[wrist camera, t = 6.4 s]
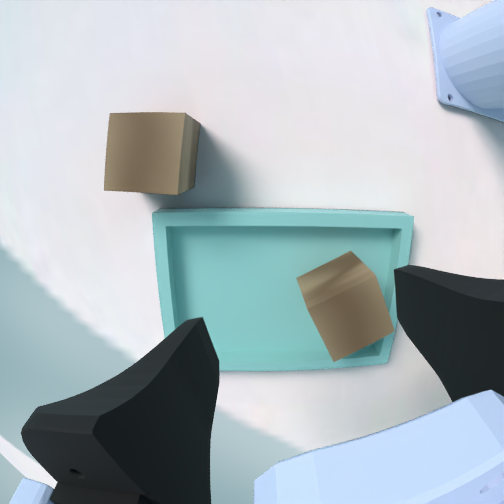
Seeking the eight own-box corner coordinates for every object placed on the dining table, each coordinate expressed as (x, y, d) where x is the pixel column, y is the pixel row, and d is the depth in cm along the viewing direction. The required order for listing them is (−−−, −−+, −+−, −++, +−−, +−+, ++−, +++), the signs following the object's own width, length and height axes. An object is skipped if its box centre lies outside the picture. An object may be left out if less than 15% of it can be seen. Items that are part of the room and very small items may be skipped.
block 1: (200, 123, 18) (185, 112, 14) (194, 187, 19) (177, 195, 15) (139, 122, 18) (110, 113, 13) (134, 183, 19) (104, 190, 15)
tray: (403, 212, 19) (414, 216, 18) (380, 351, 22) (387, 363, 21) (159, 208, 19) (152, 213, 18) (174, 355, 22) (169, 367, 21)
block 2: (350, 250, 20) (375, 274, 15) (370, 299, 21) (394, 331, 16) (296, 278, 20) (307, 309, 16) (319, 324, 21) (333, 362, 17)
